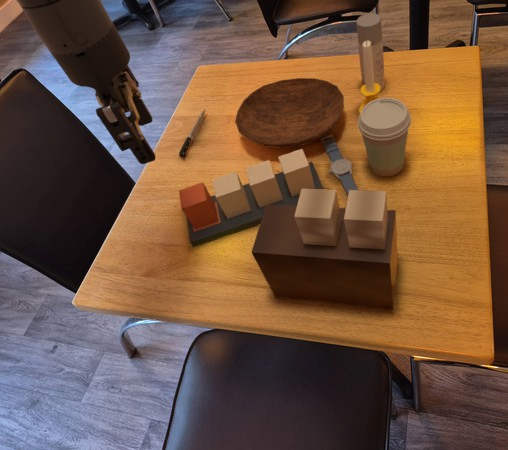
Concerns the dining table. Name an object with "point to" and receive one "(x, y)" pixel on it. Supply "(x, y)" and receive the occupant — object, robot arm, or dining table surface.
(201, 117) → the knife
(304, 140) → the bowl
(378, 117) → the coffee cup
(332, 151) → the wristwatch
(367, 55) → the candle
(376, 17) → the container
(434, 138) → the dining table surface
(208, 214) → the red-brown rectangular block
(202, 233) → the far board
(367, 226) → the stand
